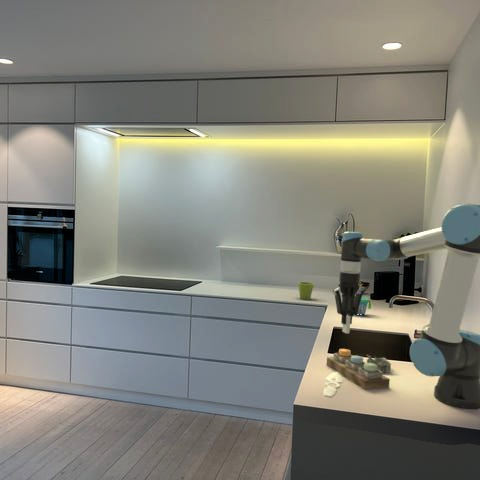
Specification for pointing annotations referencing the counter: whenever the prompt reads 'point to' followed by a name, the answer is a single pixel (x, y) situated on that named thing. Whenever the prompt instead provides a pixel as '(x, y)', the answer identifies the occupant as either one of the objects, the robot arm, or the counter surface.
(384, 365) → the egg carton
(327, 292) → the counter surface
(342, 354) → the orange button
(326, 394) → the cream scalloped strip
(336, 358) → the wooden tray
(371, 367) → the sage button
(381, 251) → the robot arm
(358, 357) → the slate button
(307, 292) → the plant pot
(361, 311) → the snack cup
